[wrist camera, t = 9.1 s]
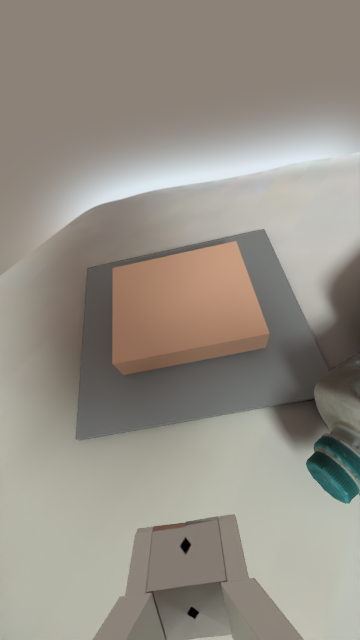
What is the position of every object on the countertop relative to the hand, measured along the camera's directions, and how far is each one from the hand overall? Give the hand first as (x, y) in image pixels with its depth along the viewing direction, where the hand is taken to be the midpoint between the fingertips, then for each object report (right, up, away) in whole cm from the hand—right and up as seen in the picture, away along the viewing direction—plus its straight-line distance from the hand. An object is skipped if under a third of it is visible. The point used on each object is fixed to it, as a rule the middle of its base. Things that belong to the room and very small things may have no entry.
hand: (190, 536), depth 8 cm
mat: (0, +6, +17) cm, 18 cm away
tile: (+1, +4, +13) cm, 13 cm away
